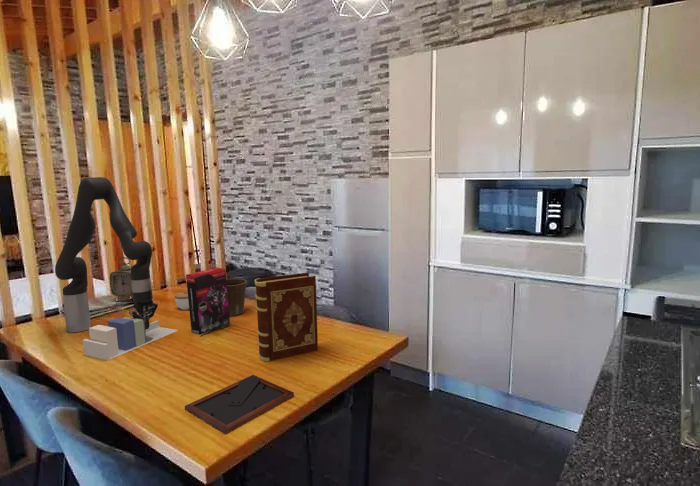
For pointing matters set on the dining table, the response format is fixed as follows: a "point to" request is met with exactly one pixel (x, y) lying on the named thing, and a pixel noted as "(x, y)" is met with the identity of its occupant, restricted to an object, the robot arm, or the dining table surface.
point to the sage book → (138, 331)
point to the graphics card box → (208, 300)
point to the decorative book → (286, 315)
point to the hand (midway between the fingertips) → (145, 328)
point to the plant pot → (236, 295)
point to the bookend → (145, 333)
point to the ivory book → (105, 337)
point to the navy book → (124, 332)
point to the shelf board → (102, 349)
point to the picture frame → (238, 403)
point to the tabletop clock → (121, 280)
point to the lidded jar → (182, 300)
